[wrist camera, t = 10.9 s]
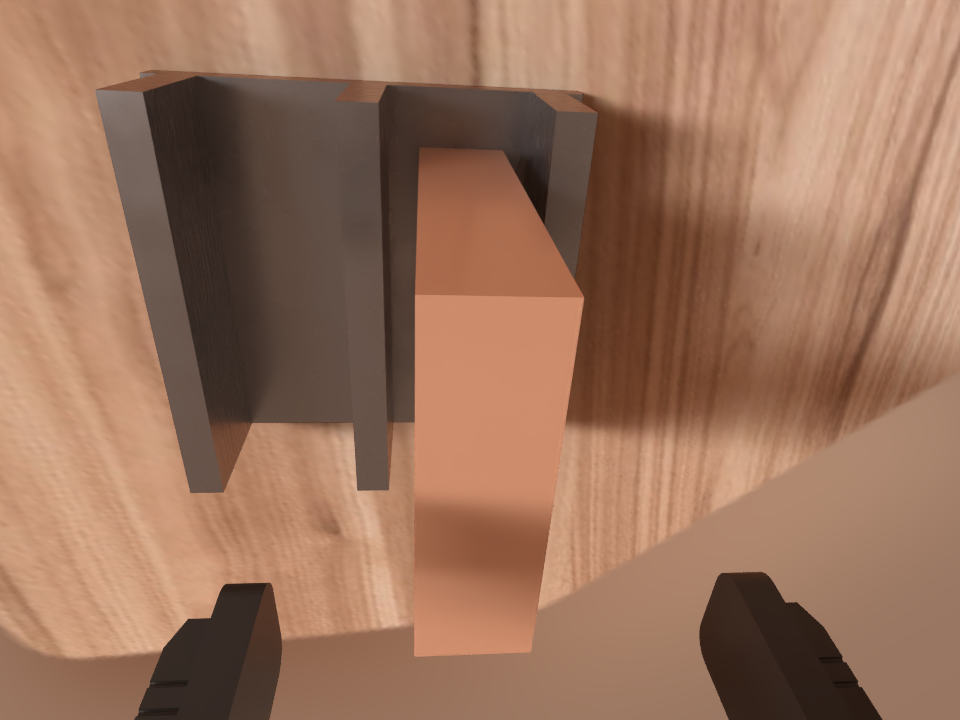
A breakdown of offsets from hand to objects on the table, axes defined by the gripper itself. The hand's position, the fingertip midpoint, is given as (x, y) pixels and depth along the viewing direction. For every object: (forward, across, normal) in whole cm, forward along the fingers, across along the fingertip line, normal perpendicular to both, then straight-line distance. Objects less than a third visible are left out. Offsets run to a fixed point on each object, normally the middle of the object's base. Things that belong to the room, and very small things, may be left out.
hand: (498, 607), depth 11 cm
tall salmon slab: (+15, 0, 0) cm, 16 cm away
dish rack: (+16, +3, 0) cm, 17 cm away
